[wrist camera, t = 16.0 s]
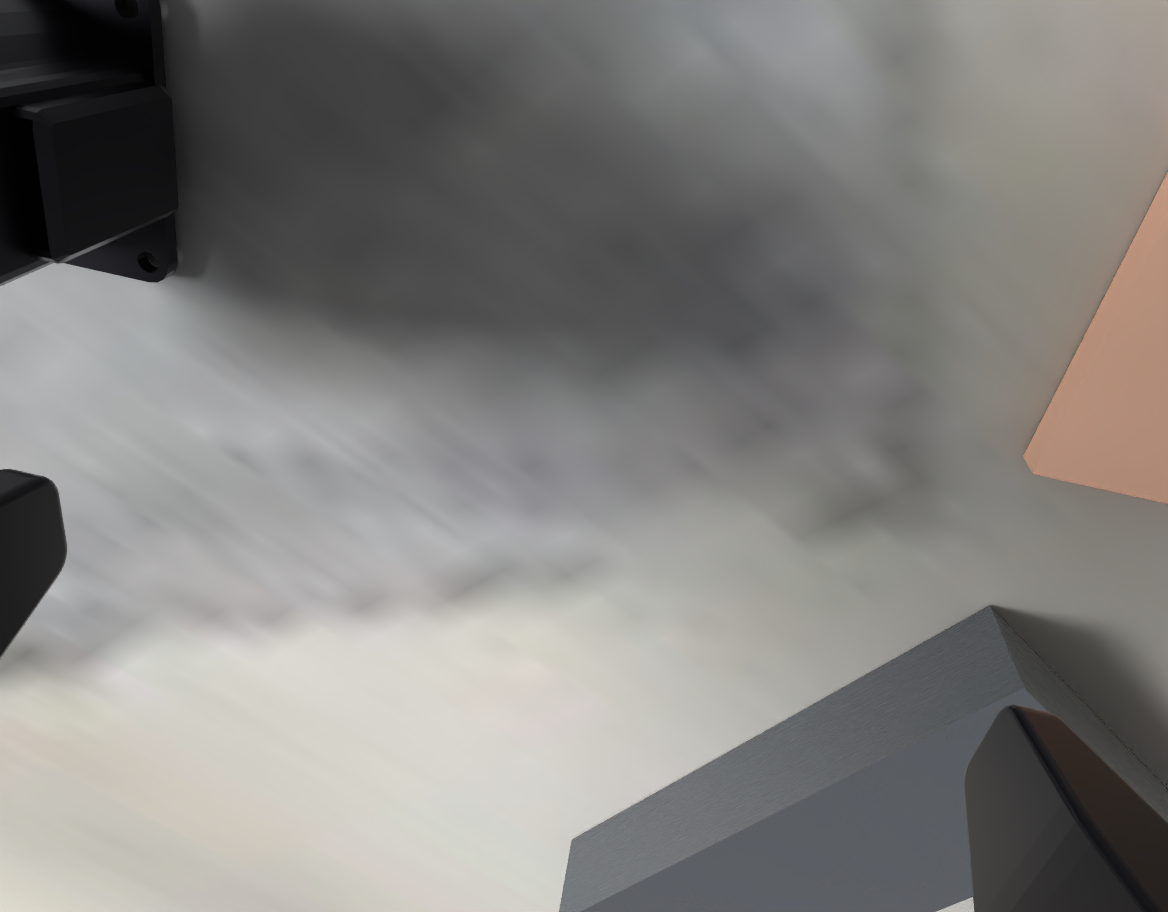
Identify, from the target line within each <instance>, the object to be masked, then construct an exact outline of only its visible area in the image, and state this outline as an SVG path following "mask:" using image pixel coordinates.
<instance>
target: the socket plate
mask: <svg viewBox="0 0 1168 912" xmlns="http://www.w3.org/2000/svg"><path fill="white" fill-rule="evenodd" d="M1013 704H1014V705H1020V706H1024V707H1029V708H1033V709H1037V710H1042V711H1046V712H1049V713H1052V714H1054V715H1056V716H1057V717H1059V718H1060V719H1061V720H1062V721H1063V722H1064V723H1065V724H1066V725H1067V726H1068V727H1069V728H1070V729H1071V730H1073V731H1074V732H1075V733H1076V734H1077V735H1078V736H1079V737H1080V738H1081V739H1082V740H1083V741H1084V742H1085V743H1086V744H1087V745H1088V746H1089V747H1090V748H1091V749H1092V750H1093V751H1094V752H1095V753H1096V754H1097V755H1098V756H1099V757H1100V758H1101V759H1102V760H1104V761H1105V762H1106V763H1107V764H1108V765H1109V766H1110V767H1111V768H1112V769H1113V770H1114V771H1115V772H1116V773H1117V774H1118V775H1119V776H1120V777H1121V778H1122V779H1123V780H1124V781H1125V782H1126V783H1127V784H1128V785H1129V786H1130V787H1131V788H1132V789H1133V790H1135V791H1136V792H1137V793H1138V794H1139V795H1140V796H1141V797H1142V798H1143V799H1144V800H1145V801H1146V802H1147V803H1148V804H1149V805H1150V806H1151V807H1152V808H1153V809H1154V810H1155V811H1156V812H1157V813H1158V814H1159V815H1160V816H1161V817H1162V818H1163V819H1164V820H1166V821H1167V822H1168V790H1167V789H1166V788H1165V786H1164V785H1163V784H1162V783H1161V782H1160V781H1159V780H1158V779H1157V778H1156V777H1155V776H1154V775H1153V774H1152V773H1151V772H1150V771H1149V770H1148V769H1147V768H1146V767H1145V766H1144V765H1143V764H1142V763H1141V762H1140V761H1139V760H1138V759H1137V757H1136V756H1135V755H1134V754H1133V753H1132V752H1131V751H1130V750H1129V749H1128V748H1127V747H1126V746H1125V745H1124V744H1123V743H1122V742H1121V741H1120V740H1119V739H1118V738H1117V737H1116V736H1115V735H1114V734H1113V733H1112V732H1111V731H1110V730H1109V728H1108V727H1107V726H1106V725H1105V724H1104V723H1103V722H1102V721H1101V720H1100V719H1099V718H1098V717H1097V716H1096V715H1095V714H1094V713H1093V712H1092V711H1091V710H1090V709H1089V708H1088V707H1087V706H1086V705H1085V704H1084V703H1083V702H1082V701H1081V699H1080V698H1079V697H1078V696H1077V695H1076V694H1075V693H1074V692H1073V691H1072V690H1071V689H1070V688H1069V687H1068V686H1067V685H1066V684H1065V683H1064V682H1063V681H1062V680H1061V679H1060V678H1059V677H1058V676H1057V675H1056V674H1055V673H1054V672H1053V670H1052V669H1051V668H1050V667H1049V666H1048V665H1047V664H1046V663H1045V662H1044V661H1043V660H1042V659H1041V658H1040V657H1039V656H1038V655H1037V654H1036V653H1035V652H1034V651H1033V650H1032V649H1031V648H1030V647H1029V646H1028V645H1027V644H1026V643H1025V641H1024V640H1023V639H1022V638H1021V637H1020V636H1019V635H1018V634H1017V633H1016V632H1015V631H1014V630H1013V629H1012V628H1011V627H1010V626H1009V625H1008V624H1007V623H1006V622H1005V621H1004V620H1003V619H1002V618H1001V617H1000V616H999V615H998V614H997V612H996V611H995V610H994V609H993V608H992V607H991V606H988V607H986V608H985V609H983V610H981V611H979V612H977V613H976V614H974V615H972V616H970V617H968V618H967V619H965V620H963V621H961V622H960V623H958V624H956V625H954V626H952V627H951V628H949V629H947V630H945V631H944V632H942V633H940V634H938V635H936V636H935V637H933V638H931V639H929V640H927V641H926V642H924V643H922V644H920V645H919V646H917V647H915V648H913V649H911V650H910V651H908V652H906V653H904V654H903V655H901V656H899V657H897V658H895V659H894V660H892V661H890V662H888V663H886V664H885V665H883V666H881V667H879V668H878V669H876V670H874V671H872V672H870V673H869V674H867V675H865V676H863V677H861V678H860V679H858V680H856V681H854V682H853V683H851V684H849V685H847V686H845V687H844V688H842V689H840V690H838V691H837V692H835V693H833V694H831V695H829V696H828V697H826V698H824V699H822V700H820V701H819V702H817V703H815V704H813V705H812V706H810V707H808V708H806V709H804V710H803V711H801V712H799V713H797V714H796V715H794V716H792V717H790V718H788V719H787V720H785V721H783V722H781V723H779V724H778V725H776V726H774V727H772V728H771V729H769V730H767V731H765V732H763V733H762V734H760V735H758V736H756V737H754V738H753V739H751V740H749V741H747V742H746V743H744V744H742V745H740V746H738V747H737V748H735V749H733V750H731V751H730V752H728V753H726V754H724V755H722V756H721V757H719V758H717V759H715V760H713V761H712V762H710V763H708V764H706V765H705V766H703V767H701V768H699V769H697V770H696V771H694V772H692V773H690V774H689V775H687V776H685V777H683V778H681V779H680V780H678V781H676V782H674V783H672V784H671V785H669V786H667V787H665V788H664V789H662V790H660V791H658V792H656V793H655V794H653V795H651V796H649V797H647V798H646V799H644V800H642V801H640V802H639V803H637V804H635V805H633V806H631V807H630V808H628V809H626V810H624V811H623V812H621V813H619V814H617V815H615V816H614V817H612V818H610V819H608V820H606V821H605V822H603V823H601V824H599V825H598V826H596V827H594V828H592V829H590V830H589V831H587V832H585V833H583V834H582V835H580V836H578V837H576V838H574V839H573V840H572V842H571V847H570V853H569V859H568V864H567V870H566V876H565V881H564V887H563V893H562V898H561V904H560V910H559V912H936V911H938V910H941V909H943V908H946V907H948V906H951V905H953V904H956V903H958V902H961V901H963V900H966V899H968V898H971V897H973V889H972V878H971V866H970V855H969V844H968V832H967V821H966V809H965V798H964V776H965V771H966V768H967V765H968V762H969V760H970V758H971V757H972V755H973V753H974V752H975V750H976V748H977V747H978V745H979V743H980V742H981V740H982V738H983V737H984V735H985V733H986V732H987V730H988V728H989V727H990V725H991V723H992V722H993V720H994V718H995V717H996V715H997V714H998V712H999V711H1000V710H1001V709H1002V708H1004V707H1005V706H1007V705H1013Z"/></svg>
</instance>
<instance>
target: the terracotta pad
mask: <svg viewBox="0 0 1168 912" xmlns="http://www.w3.org/2000/svg"><path fill="white" fill-rule="evenodd" d="M1023 458H1024V460H1025V461H1026V463H1027V465H1028V466H1029V468H1030V470H1031V471H1032V473H1033V474H1036V475H1040V476H1045V477H1049V478H1054V479H1058V480H1062V481H1067V482H1071V483H1076V484H1080V485H1085V486H1089V487H1094V488H1098V489H1103V490H1107V491H1112V492H1116V493H1121V494H1125V495H1129V496H1134V497H1138V498H1143V499H1147V500H1152V501H1156V502H1161V503H1165V504H1168V172H1167V174H1166V176H1165V178H1164V180H1163V182H1162V184H1161V186H1160V188H1159V190H1158V192H1157V194H1156V196H1155V198H1154V200H1153V202H1152V204H1151V206H1150V208H1149V210H1148V212H1147V214H1146V216H1145V218H1144V220H1143V222H1142V224H1141V225H1140V227H1139V229H1138V231H1137V233H1136V235H1135V237H1134V239H1133V241H1132V243H1131V245H1130V247H1129V249H1128V251H1127V253H1126V255H1125V257H1124V259H1123V261H1122V263H1121V265H1120V267H1119V269H1118V271H1117V273H1116V275H1115V277H1114V279H1113V280H1112V282H1111V284H1110V286H1109V288H1108V290H1107V292H1106V294H1105V296H1104V298H1103V300H1102V302H1101V304H1100V306H1099V308H1098V310H1097V312H1096V314H1095V316H1094V318H1093V320H1092V322H1091V324H1090V326H1089V328H1088V330H1087V332H1086V334H1085V336H1084V337H1083V339H1082V341H1081V343H1080V345H1079V347H1078V349H1077V351H1076V353H1075V355H1074V357H1073V359H1072V361H1071V363H1070V365H1069V367H1068V369H1067V371H1066V373H1065V375H1064V377H1063V379H1062V381H1061V383H1060V385H1059V387H1058V389H1057V391H1056V392H1055V394H1054V396H1053V398H1052V400H1051V402H1050V404H1049V406H1048V408H1047V410H1046V412H1045V414H1044V416H1043V418H1042V420H1041V422H1040V424H1039V426H1038V428H1037V430H1036V432H1035V434H1034V436H1033V438H1032V440H1031V442H1030V444H1029V446H1028V448H1027V449H1026V451H1025V453H1024V455H1023Z"/></svg>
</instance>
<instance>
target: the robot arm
mask: <svg viewBox="0 0 1168 912" xmlns="http://www.w3.org/2000/svg"><path fill="white" fill-rule="evenodd" d="M136 1H137V5H138V8H139V9H138V15H137V16H136V17H134V16H133V15H132V14H131V13H130V11H129V10H128V7H127V4H126V0H0V286H2V285H4V284H6V283H8V282H11V281H13V280H15V279H18V278H20V277H22V276H24V275H27V274H29V273H31V272H34V271H36V270H38V269H40V268H43V267H45V266H47V265H50V264H52V263H66V264H71V265H75V266H79V267H84V268H88V269H93V270H97V271H102V272H106V273H111V274H115V275H120V276H124V277H129V278H133V279H137V280H142V281H146V282H159V281H161V280H163V279H165V278H167V277H169V276H171V275H172V274H173V273H174V272H175V270H176V267H177V251H176V235H175V220H174V211H175V210H176V209H177V208H178V193H177V177H176V161H175V145H174V130H173V114H172V100H171V98H170V96H169V95H168V93H167V91H166V82H165V67H164V52H163V37H162V21H161V9H160V5H159V0H136ZM148 252H149V253H151V254H153V256H154V257H155V258H156V259H157V262H158V267H156V266H154V265H152V264H151V262H150V261H149V259H148V256H147V253H148ZM66 554H67V542H66V536H65V530H64V523H63V517H62V511H61V505H60V498H59V493H58V489H57V487H56V486H55V484H54V483H53V481H51V480H50V479H48V478H46V477H44V476H39V475H35V474H31V473H27V472H22V471H18V470H12V469H3V470H0V659H1V657H2V656H3V654H4V653H5V651H6V650H7V649H8V647H9V646H10V644H11V643H12V641H13V640H14V638H15V637H16V636H17V634H18V633H19V631H20V630H21V628H22V627H23V626H24V624H25V623H26V621H27V620H28V618H29V617H30V616H31V614H32V613H33V611H34V610H35V608H36V607H37V605H38V604H39V603H40V601H41V600H42V598H43V597H44V595H45V594H46V593H47V591H48V590H49V588H50V587H51V585H52V584H53V583H54V581H55V580H56V578H57V577H58V575H59V574H60V572H61V570H62V568H63V566H64V563H65V559H66ZM964 798H965V809H966V821H967V832H968V844H969V855H970V866H971V878H972V889H973V900H974V912H1168V822H1167V821H1166V820H1164V819H1163V818H1162V817H1161V816H1160V815H1159V814H1158V813H1157V812H1156V811H1155V810H1154V809H1153V808H1152V807H1151V806H1150V805H1149V804H1148V803H1147V802H1146V801H1145V800H1144V799H1143V798H1142V797H1141V796H1140V795H1139V794H1138V793H1137V792H1136V791H1135V790H1133V789H1132V788H1131V787H1130V786H1129V785H1128V784H1127V783H1126V782H1125V781H1124V780H1123V779H1122V778H1121V777H1120V776H1119V775H1118V774H1117V773H1116V772H1115V771H1114V770H1113V769H1112V768H1111V767H1110V766H1109V765H1108V764H1107V763H1106V762H1105V761H1104V760H1102V759H1101V758H1100V757H1099V756H1098V755H1097V754H1096V753H1095V752H1094V751H1093V750H1092V749H1091V748H1090V747H1089V746H1088V745H1087V744H1086V743H1085V742H1084V741H1083V740H1082V739H1081V738H1080V737H1079V736H1078V735H1077V734H1076V733H1075V732H1074V731H1073V730H1071V729H1070V728H1069V727H1068V726H1067V725H1066V724H1065V723H1064V722H1063V721H1062V720H1061V719H1060V718H1059V717H1057V716H1056V715H1054V714H1052V713H1049V712H1046V711H1042V710H1037V709H1033V708H1029V707H1024V706H1020V705H1014V704H1013V705H1007V706H1005V707H1004V708H1002V709H1001V710H1000V711H999V712H998V714H997V715H996V717H995V718H994V720H993V722H992V723H991V725H990V727H989V728H988V730H987V732H986V733H985V735H984V737H983V738H982V740H981V742H980V743H979V745H978V747H977V748H976V750H975V752H974V753H973V755H972V757H971V758H970V760H969V762H968V765H967V768H966V771H965V776H964Z"/></svg>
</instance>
